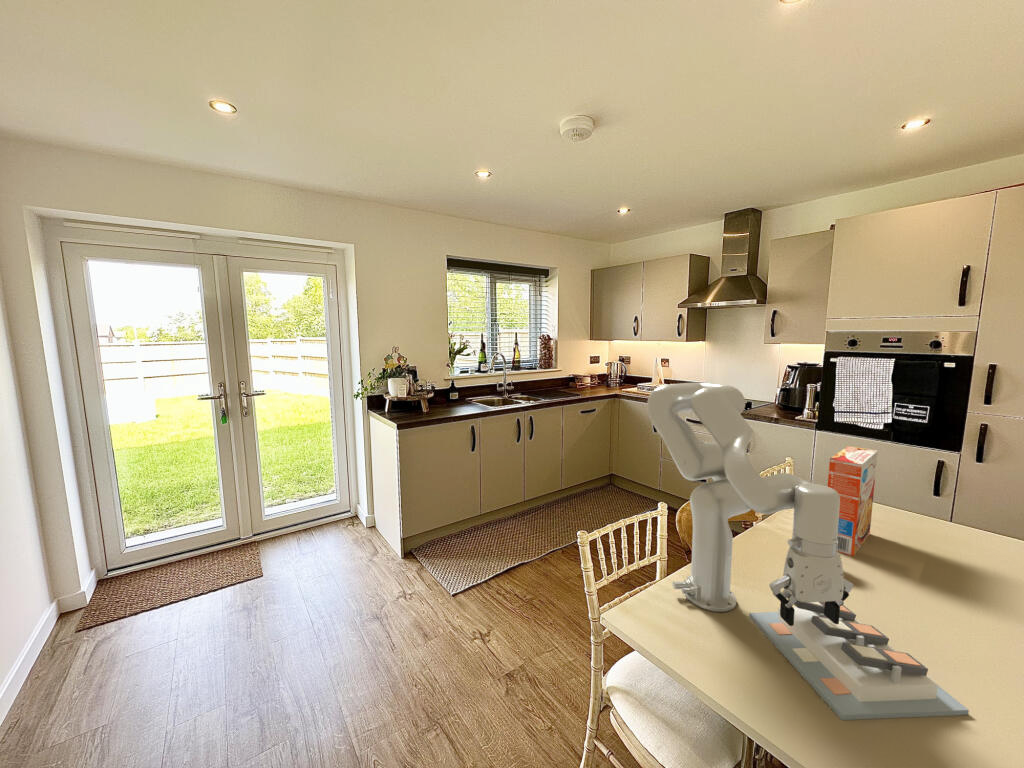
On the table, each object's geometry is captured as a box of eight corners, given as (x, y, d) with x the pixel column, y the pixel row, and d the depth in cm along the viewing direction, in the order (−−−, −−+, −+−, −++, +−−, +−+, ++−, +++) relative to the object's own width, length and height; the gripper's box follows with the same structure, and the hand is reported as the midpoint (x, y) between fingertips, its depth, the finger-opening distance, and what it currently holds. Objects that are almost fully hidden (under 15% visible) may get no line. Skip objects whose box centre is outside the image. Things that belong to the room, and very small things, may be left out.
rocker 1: (798, 608, 95) (800, 601, 95) (786, 597, 99) (788, 590, 98) (854, 621, 96) (856, 614, 95) (839, 609, 100) (842, 603, 99)
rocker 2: (825, 634, 87) (827, 627, 87) (810, 621, 91) (812, 614, 91) (887, 645, 88) (889, 638, 87) (870, 631, 92) (872, 625, 91)
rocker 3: (858, 664, 79) (860, 657, 79) (840, 649, 83) (843, 641, 83) (925, 676, 80) (928, 668, 79) (905, 659, 84) (908, 652, 83)
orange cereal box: (853, 556, 130) (862, 464, 127) (822, 546, 137) (829, 458, 133) (869, 533, 145) (877, 450, 142) (841, 525, 151) (847, 446, 148)
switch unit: (841, 719, 76) (844, 684, 75) (749, 616, 103) (750, 589, 103) (968, 714, 76) (972, 679, 75) (842, 613, 104) (845, 586, 103)
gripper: (785, 554, 82) (781, 634, 84) (870, 552, 83) (863, 631, 85) (761, 537, 90) (758, 610, 92) (839, 534, 90) (834, 608, 92)
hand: (809, 620), depth 88 cm, fingers open, 9 cm apart
